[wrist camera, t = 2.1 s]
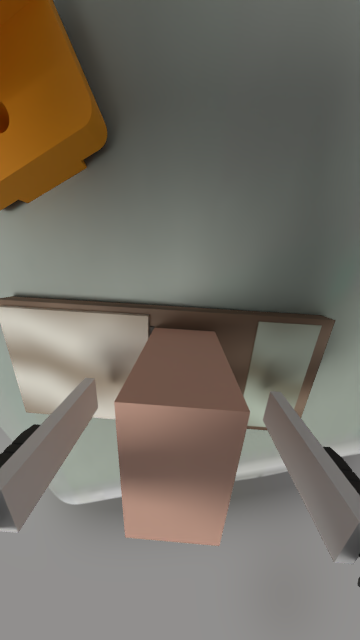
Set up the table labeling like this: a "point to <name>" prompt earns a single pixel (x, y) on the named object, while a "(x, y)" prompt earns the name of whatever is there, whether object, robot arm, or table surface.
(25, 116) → the bracket
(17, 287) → the table surface
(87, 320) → the board
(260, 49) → the table surface
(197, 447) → the stub
